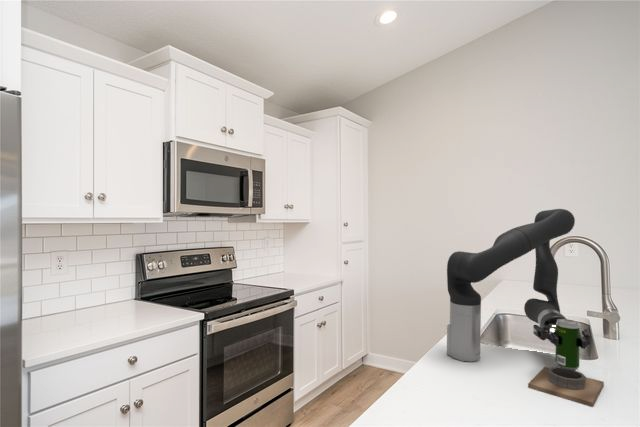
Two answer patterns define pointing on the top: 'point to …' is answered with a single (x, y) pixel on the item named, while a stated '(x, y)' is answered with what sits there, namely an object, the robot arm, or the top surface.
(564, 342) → the beer can
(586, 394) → the can holder
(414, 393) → the top surface
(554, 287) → the robot arm
